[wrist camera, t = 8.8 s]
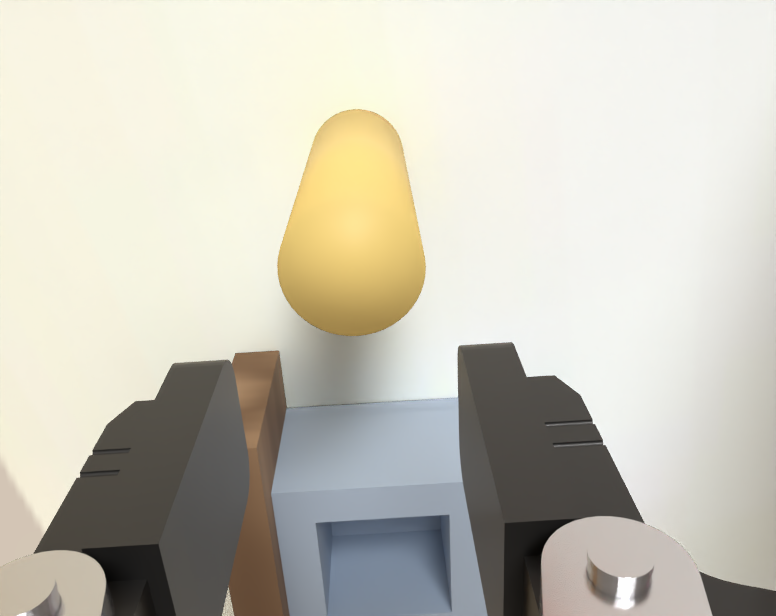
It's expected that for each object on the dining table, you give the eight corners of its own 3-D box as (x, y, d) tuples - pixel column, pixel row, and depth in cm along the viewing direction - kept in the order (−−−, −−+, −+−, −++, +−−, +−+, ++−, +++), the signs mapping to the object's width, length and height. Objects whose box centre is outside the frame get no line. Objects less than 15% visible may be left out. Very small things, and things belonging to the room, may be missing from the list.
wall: (278, 350, 27) (256, 447, 21) (311, 592, 32) (299, 720, 26) (235, 353, 27) (202, 451, 21) (274, 594, 32) (255, 722, 26)
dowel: (401, 106, 23) (422, 194, 14) (405, 197, 24) (427, 331, 15) (307, 112, 23) (268, 203, 14) (316, 203, 24) (286, 340, 15)
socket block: (469, 397, 28) (489, 480, 23) (470, 538, 31) (488, 636, 26) (286, 408, 28) (270, 493, 23) (305, 548, 31) (294, 648, 26)
